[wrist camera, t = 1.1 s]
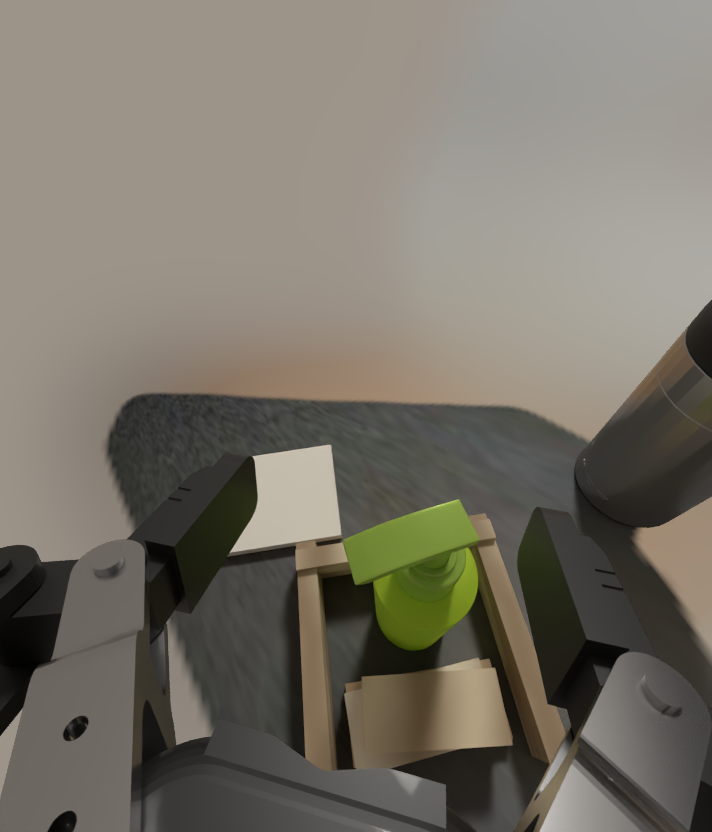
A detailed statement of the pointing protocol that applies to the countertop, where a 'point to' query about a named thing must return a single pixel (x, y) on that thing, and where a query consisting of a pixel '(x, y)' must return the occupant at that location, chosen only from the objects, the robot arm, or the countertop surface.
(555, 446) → the countertop surface
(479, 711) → the offcut stack
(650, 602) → the countertop surface
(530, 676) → the pine rack
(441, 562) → the soap dispenser
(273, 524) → the cream tile
